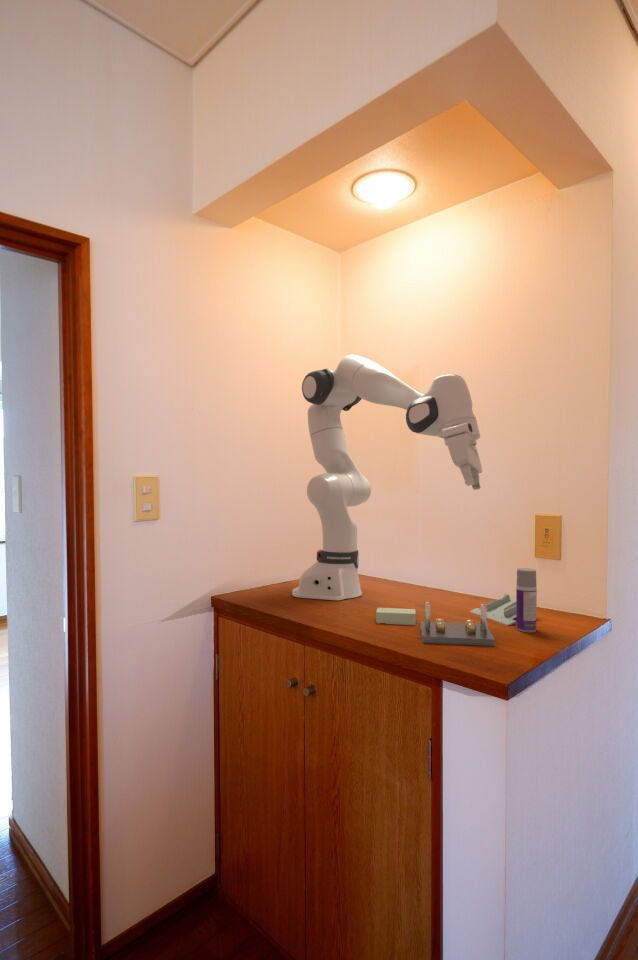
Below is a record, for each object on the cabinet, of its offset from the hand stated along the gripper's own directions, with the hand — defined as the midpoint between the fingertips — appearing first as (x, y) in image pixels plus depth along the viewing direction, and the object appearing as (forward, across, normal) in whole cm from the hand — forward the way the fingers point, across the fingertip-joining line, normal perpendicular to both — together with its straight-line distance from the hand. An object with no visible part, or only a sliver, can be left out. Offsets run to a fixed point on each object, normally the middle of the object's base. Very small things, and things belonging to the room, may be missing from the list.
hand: (473, 487), depth 133 cm
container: (+36, -11, +3) cm, 38 cm away
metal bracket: (+34, -22, -3) cm, 40 cm away
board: (+30, -4, -28) cm, 41 cm away
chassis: (+34, +2, -12) cm, 36 cm away
